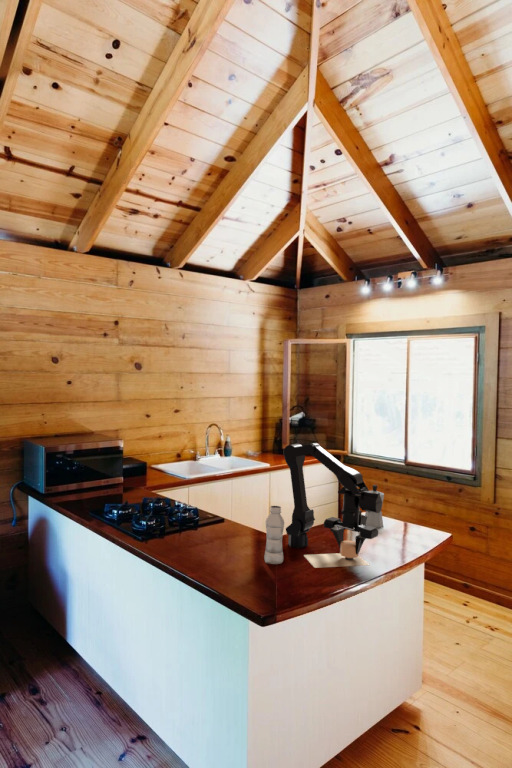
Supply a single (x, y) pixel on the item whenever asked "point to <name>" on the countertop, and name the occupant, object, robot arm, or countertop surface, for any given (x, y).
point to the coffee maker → (372, 517)
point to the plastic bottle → (274, 536)
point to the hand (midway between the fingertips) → (349, 551)
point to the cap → (348, 549)
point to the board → (333, 560)
